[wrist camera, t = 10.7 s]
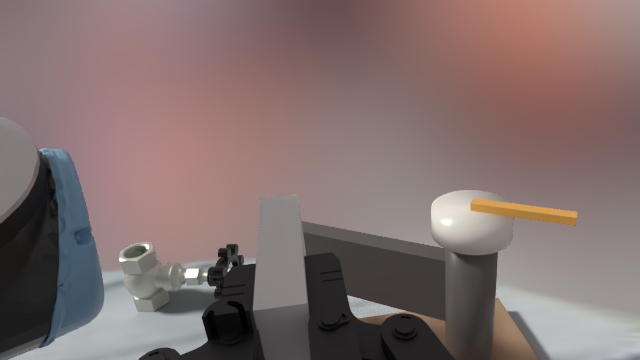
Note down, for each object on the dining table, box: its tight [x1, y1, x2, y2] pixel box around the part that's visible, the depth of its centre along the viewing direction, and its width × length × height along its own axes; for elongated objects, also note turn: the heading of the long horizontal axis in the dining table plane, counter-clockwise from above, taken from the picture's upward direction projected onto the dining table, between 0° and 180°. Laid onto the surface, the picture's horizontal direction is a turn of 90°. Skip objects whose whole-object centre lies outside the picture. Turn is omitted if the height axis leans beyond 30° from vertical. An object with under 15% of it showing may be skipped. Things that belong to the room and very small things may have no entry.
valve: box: [120, 242, 244, 312], centre depth 48 cm, size 7×7×12 cm
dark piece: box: [302, 190, 577, 360], centre depth 34 cm, size 22×5×15 cm, turn 60°
